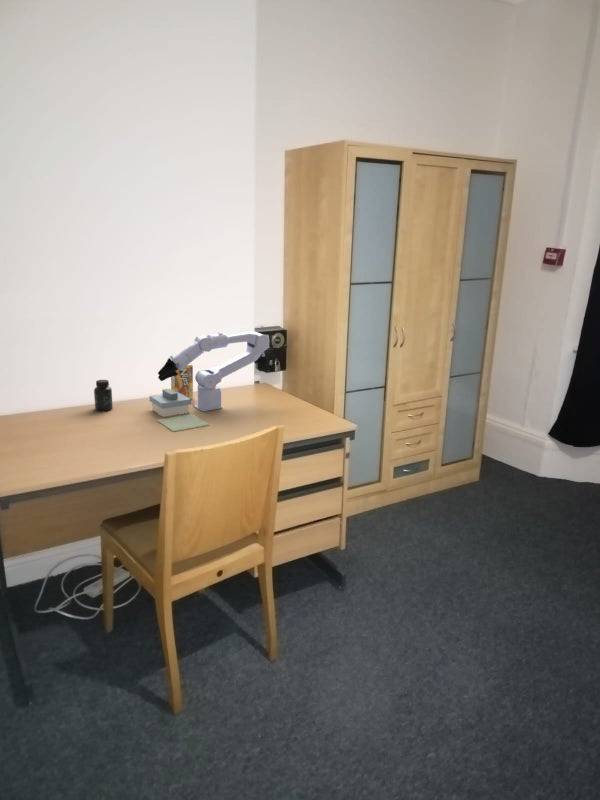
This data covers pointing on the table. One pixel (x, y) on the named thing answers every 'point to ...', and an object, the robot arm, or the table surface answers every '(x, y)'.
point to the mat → (182, 422)
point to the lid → (170, 399)
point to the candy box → (183, 381)
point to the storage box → (170, 410)
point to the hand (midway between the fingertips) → (159, 377)
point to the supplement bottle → (103, 396)
